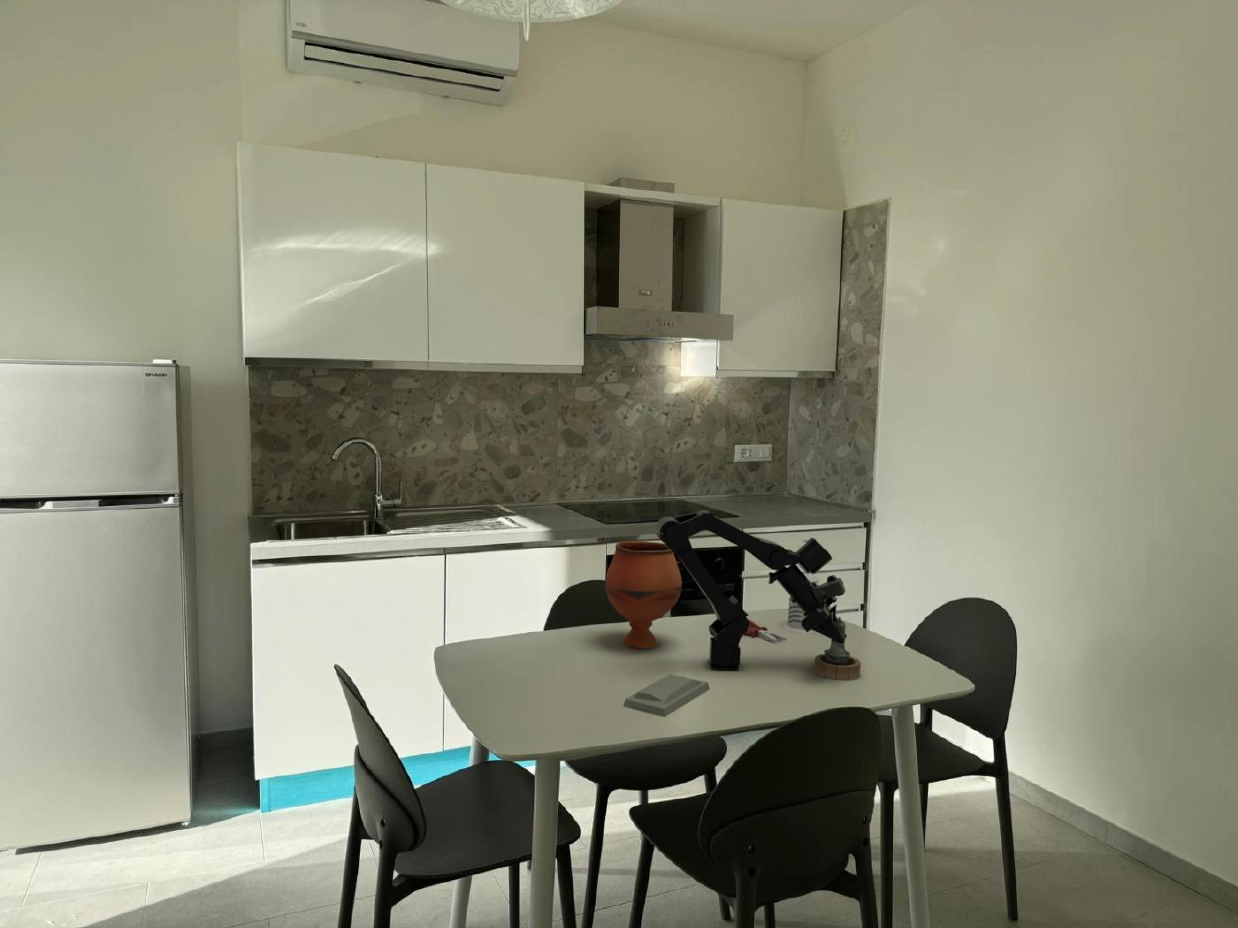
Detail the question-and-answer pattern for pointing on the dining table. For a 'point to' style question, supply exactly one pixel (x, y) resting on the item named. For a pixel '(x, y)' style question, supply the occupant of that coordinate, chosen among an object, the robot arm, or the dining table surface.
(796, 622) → the french press
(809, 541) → the robot arm
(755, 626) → the pliers
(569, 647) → the dining table surface
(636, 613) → the goblet
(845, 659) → the salt shaker
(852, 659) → the shaker socket
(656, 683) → the grey stepped rectangular block
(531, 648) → the dining table surface
